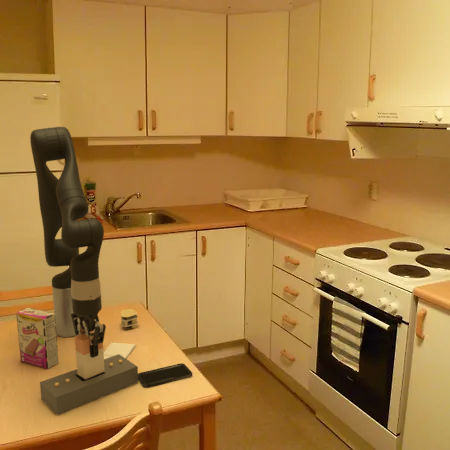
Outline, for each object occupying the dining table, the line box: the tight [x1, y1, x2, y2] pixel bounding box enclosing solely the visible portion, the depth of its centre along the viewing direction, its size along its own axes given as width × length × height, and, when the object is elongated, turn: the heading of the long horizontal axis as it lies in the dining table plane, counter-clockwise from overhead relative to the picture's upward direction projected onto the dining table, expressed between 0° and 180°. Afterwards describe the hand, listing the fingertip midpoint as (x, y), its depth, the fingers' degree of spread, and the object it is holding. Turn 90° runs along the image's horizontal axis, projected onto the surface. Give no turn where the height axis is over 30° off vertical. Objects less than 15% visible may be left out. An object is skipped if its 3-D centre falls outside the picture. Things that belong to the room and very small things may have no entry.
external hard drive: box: [103, 342, 136, 360], centre depth 163 cm, size 2×8×12 cm
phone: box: [138, 362, 193, 389], centre depth 150 cm, size 8×1×15 cm
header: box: [39, 354, 139, 416], centre depth 142 cm, size 10×24×6 cm, turn 132°
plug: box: [74, 331, 104, 379], centre depth 140 cm, size 4×6×11 cm, turn 136°
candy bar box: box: [15, 307, 59, 370], centre depth 156 cm, size 11×5×16 cm, turn 65°
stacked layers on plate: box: [120, 308, 139, 329], centre depth 184 cm, size 10×9×6 cm
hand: (89, 353), depth 140 cm, fingers closed on plug, 4 cm apart
